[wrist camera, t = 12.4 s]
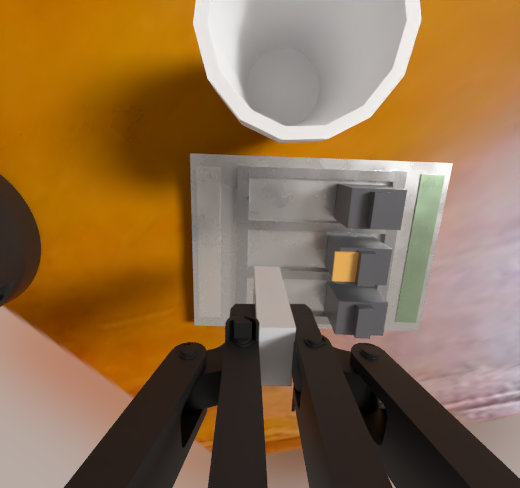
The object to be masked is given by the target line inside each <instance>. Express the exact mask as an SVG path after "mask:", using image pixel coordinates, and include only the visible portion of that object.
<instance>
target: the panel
mask: <svg viewBox="0 0 520 488" xmlns="http://www.w3.org/2000/svg"><path fill="white" fill-rule="evenodd" d="M452 164H453V163H433V162H406V161H380V160H353V159H326V158H300V157H273V156H247V155H220V154H193V153H190V176H191V214H192V252H193V290H194V325H204V326H225V323H226V321H227V319H228V318H230V309H231V308H232V307H233V306H234V304H253V288H254V266H268V267H280V271H281V275H282V278H283V282H284V286H285V289H286V293H287V297H288V300H289V304H306V305H307V306H308V307H309V308H310V309H311V310H312V313H313V316H314V318H315V321H316V323H317V325H318V328H319V329H332V326H331V324H330V322H329V319H328V317H327V315H326V313H325V303H326V293H327V284H328V282H335V281H332V276H331V275H330V273H329V272H328V270H327V269H326V267H325V263H326V253H327V243H328V235H351V236H373V237H375V238H376V239H378V240H379V241H381V242H382V243H384V244H385V245H387V246H388V247H390V248H391V249H392V255H391V261H390V267H389V273H388V279H387V285H373V286H374V288H375V289H376V290H377V291H378V292H379V293H380V294H381V295H382V296H383V297H384V299H385V300H386V301H387V302H388V308H387V314H386V320H385V326H384V330H387V331H419V327H420V322H421V317H422V312H423V307H424V302H425V297H426V292H427V287H428V282H429V278H430V273H431V268H432V263H433V258H434V253H435V248H436V243H437V238H438V233H439V228H440V223H441V218H442V214H443V209H444V204H445V199H446V194H447V189H448V184H449V179H450V174H451V169H452ZM338 183H339V184H366V185H386V186H391V187H396V188H401V189H406V190H407V194H406V200H405V206H404V212H403V218H402V224H401V230H380V229H350V228H346V227H345V226H344V225H342V224H341V223H340V222H339V221H337V220H336V219H335V218H334V217H335V207H336V198H337V188H338Z"/></svg>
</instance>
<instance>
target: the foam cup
mask: <svg viewBox="0 0 520 488" xmlns="http://www.w3.org/2000/svg"><path fill="white" fill-rule="evenodd" d="M420 23H421V10H420V0H196V5H195V12H194V20H193V25H194V29H195V33H196V37H197V40H198V44H199V48H200V52H201V56H202V59H203V63H204V67H205V71H206V75H207V78H208V80H209V82H210V83H211V85H212V87H213V88H214V90H215V91H216V92H217V94H218V95H219V96H220V98H221V99H222V100H223V101H224V103H225V104H226V105H227V106H228V108H229V109H230V110H231V112H232V113H233V114H234V115H235V117H236V118H237V119H238V120H239V122H240V123H241V124H242V125H243V126H245V127H247V128H250V129H252V130H254V131H256V132H258V133H260V134H262V135H264V136H266V137H268V138H270V139H272V140H274V141H276V142H278V143H282V142H319V141H323V140H326V139H329V138H331V137H333V136H335V135H337V134H339V133H340V132H342V131H344V130H346V129H348V128H350V127H352V126H354V125H356V124H358V123H360V122H362V121H364V120H366V119H368V118H370V117H371V116H372V115H373V114H374V112H375V111H376V110H377V109H378V107H379V106H380V105H381V104H382V102H383V101H384V100H385V99H386V98H387V96H388V95H389V94H390V93H391V91H392V90H393V89H394V88H395V86H396V85H397V84H398V83H399V81H400V80H401V79H402V78H403V76H404V75H405V72H406V68H407V65H408V62H409V59H410V55H411V52H412V49H413V46H414V42H415V39H416V36H417V32H418V29H419V26H420Z"/></svg>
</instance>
